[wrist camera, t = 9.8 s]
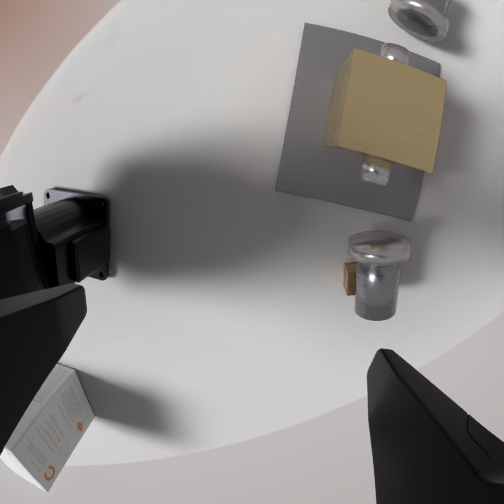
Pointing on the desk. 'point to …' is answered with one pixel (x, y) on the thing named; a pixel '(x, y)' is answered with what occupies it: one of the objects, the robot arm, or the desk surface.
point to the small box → (49, 429)
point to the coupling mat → (314, 124)
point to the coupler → (385, 112)
